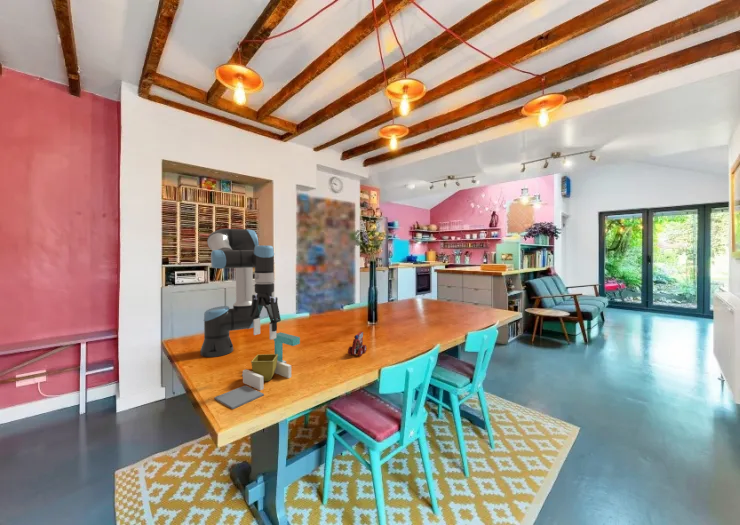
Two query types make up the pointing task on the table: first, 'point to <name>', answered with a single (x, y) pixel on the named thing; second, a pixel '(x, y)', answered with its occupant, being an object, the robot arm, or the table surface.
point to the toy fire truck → (357, 345)
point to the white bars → (257, 380)
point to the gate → (284, 339)
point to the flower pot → (265, 365)
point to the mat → (239, 396)
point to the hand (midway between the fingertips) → (264, 336)
